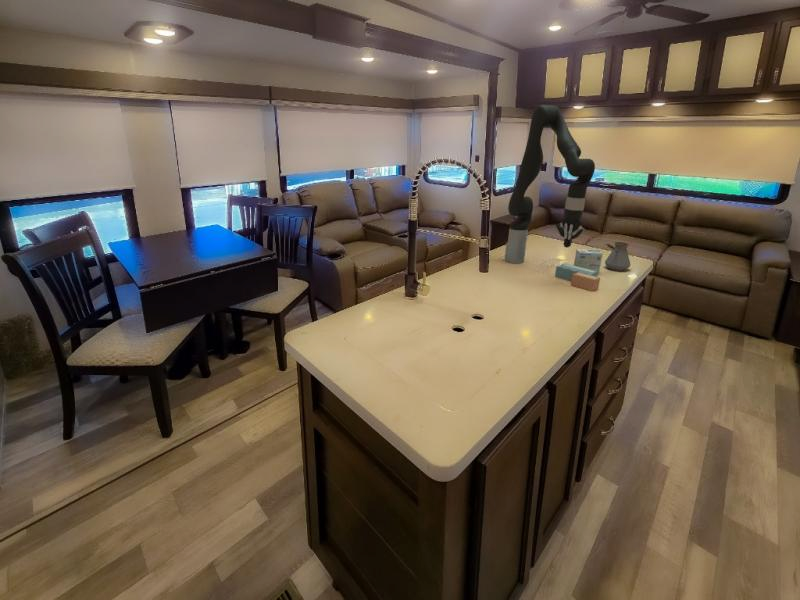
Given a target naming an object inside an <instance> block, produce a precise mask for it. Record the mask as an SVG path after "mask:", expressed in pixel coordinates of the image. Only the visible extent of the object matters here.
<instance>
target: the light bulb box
mask: <svg viewBox="0 0 800 600" xmlns="http://www.w3.org/2000/svg"><path fill="white" fill-rule="evenodd" d="M602 259H603V251H600V250H599V249H583V248H582V249H579V248H577V249H576V250H575V257H574V261H573V265H574V266H578V267H582V268H587V269H591V270H595V271H598V275H600V270H601V265H602Z"/></svg>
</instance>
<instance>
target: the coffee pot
mask: <svg viewBox="0 0 800 600" xmlns="http://www.w3.org/2000/svg"><path fill="white" fill-rule="evenodd" d="M606 246H607V248H610V249H611V250H612V251H611V252H610V254H609V255H607V256H608V257H607V258H606V259H605V261H604V264H605V266H606V267H607V269H608V270H611V271H618V272H624V271H625V270H627V269H629V268H630V267H631V261H630V257H629V252H628V246H630V244H629V243H628V242H627V243H626V242H621V241H618V242H617V241H615V242H614V246H613V245H611V244H609V243H606V244H604V246H603V247H606Z"/></svg>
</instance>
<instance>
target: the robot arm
mask: <svg viewBox="0 0 800 600" xmlns="http://www.w3.org/2000/svg"><path fill="white" fill-rule="evenodd" d="M568 127H569V126H568V125H567V123H566V121H565V118H564V115H563V113H562V111H561V109H560V107H558V106H557V105H555V104H539V105H537V106H536V107H535V108H534V110H533V113H532V115H531V119H530V126H529V132H528V137H527V141H526V146H525V150H524V152H523V155H522V159H521V163H520V168H519V172H518V175H517V179H516V181H515V186H514V189H513V190H512V193H511V196H510V198H509V201H508V207H507V208H508V213H509V215H511V216H513V217H516V218H515V219H514V220H513V221H511V222H510V224H509V230H508V238H507V242H506V243H505V250H504V253H505V254H504V259H503V260H504V261H506V262H508V263H511V264H523V263H524V262H525V257H526V250H527V249H526V247H527V241H528V232H529V227H530V225H531V222H532V217H533V216H532V215H533V211H534V202H533V199H532V198H531V197H530V196H527V195H526V196H525V194H526V193H527V191H528V188H529V187H530V186H531V184H533V182H534V181H535V180H536V179H537V177H538V176H539V174H540V172H541V168H542V167H543V166H542V165H543V162H544V153H543V147H542V144H541V143H542V142H541V141H542V140H541V138H542V135H543V131H544V129H545V128H548V129H549V128H550V129H551V130H552V131H553V132H554V133H555V135H556V148H557V149H558V152H559V153H560V154H561V156H562V157H563V159H564V163H565V166H566V170H567V173H568V174H570V176H572V177H573V178H576V180H575V181H573V182H571V183H570V184H569V186H568V192H567V197H566V199H565V203H564V204H565V206H564V209H563V216H562V220H561V222H560V223H557V224H556V225H555V227H556V229H557V231H558V233H559V234H560V237H562V238H564V239H563V240H564V241H563V246H564V248H571V246H572V242H573V240H574V239H577V238H579V237H580V236H581V235H582V234H583V233H584V232H585V231H586V228H584V227H583V226H582V218H583V213H584V210H585V209H584V208H585V203H586V201H585V200H586V195H587V190H588V189H587V188H588V186H589V184H590V183H591V180H592V179H593V176H594V174H595V171H596V163H595V162H594V160H593V159H591V158H579V157H581V155H582V149H581V148H580V146H579V145H578V143H577V142H576V140H575V139H574V138H573V136H572V134H571V131H570V130H569V128H568ZM576 231H577V232H576Z"/></svg>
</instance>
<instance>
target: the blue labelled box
mask: <svg viewBox="0 0 800 600" xmlns="http://www.w3.org/2000/svg"><path fill="white" fill-rule="evenodd" d="M577 272H580V273H584V274H588V275H592V276H596V277H598V275H599V274H598V271H595V270H591V269H587V268H582V267H578V266H574V264H569V263H565V262H564V263H562V264H559V265H557V266H556V267H555V274H554V277H555V278H558V279H562V280H566V281H568V282H569V281H570V282H571V281H572V275H573V274H575V273H577Z"/></svg>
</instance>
